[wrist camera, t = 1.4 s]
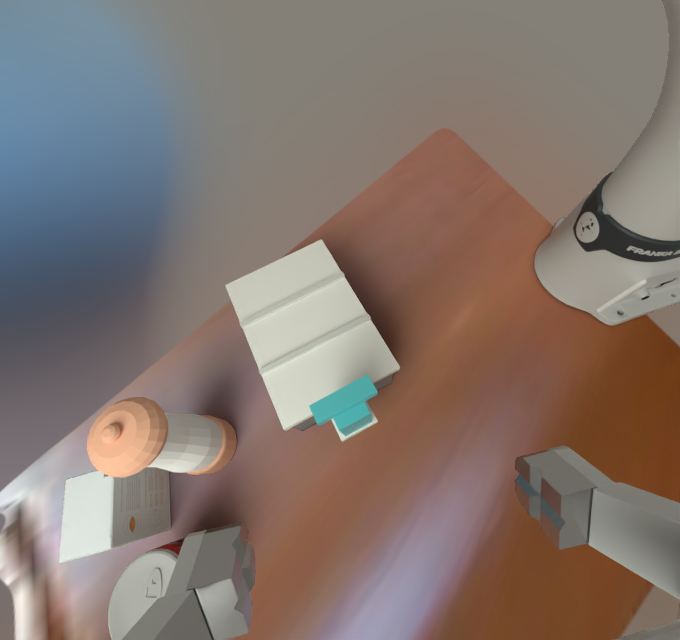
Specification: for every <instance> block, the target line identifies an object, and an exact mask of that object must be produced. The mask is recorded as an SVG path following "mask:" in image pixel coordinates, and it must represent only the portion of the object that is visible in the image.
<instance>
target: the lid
mask: <svg viewBox="0 0 680 640" xmlns="http://www.w3.org/2000/svg"><path fill="white" fill-rule="evenodd" d="M225 286H226V289H227V291H228V294H229V296H230V299H231V301H232V304H233V306H234V308H235V311H236V313H237V316H238V318H239V321H240V326H241V327H242V328H243V331H244V333H245V336H246V338H247V341H248V343H249V345H250V348H251V350H252V353H253V355H254V358H255V360H256V363H257V365H258V368H259V373H260V375H262V378H263V380H264V382H265V385H266V387H267V390H268V392H269V395H270V397H271V400H272V402H273V405H274V407H275V410H276V412H277V415H278V417H279V419H280V422H281V424H282V427H283V429H284V430H288V429H290V428H292V427H293V426H295V425H297V424H299V423H301V422H303V421H305V420H307V419H308V418H310V417H312V416H314V418H315V421H316V423H317V425H319V426H320V425H322V424H324V423H326V422H327V421H329V420H332V422H333V424H334V426H335V428H336V430H337V432H338V434H339V436H340V438H341V441H342V442H343V441H345V440H346V439H348V438H350V437H352V436H354V435H356V434H357V433H359V432H361V431H363V430H365V429H366V428H368V427H370V426H372V425H374V424H376V423H377V422H378V421H377V419H376V417H375V415H374V413H373V412H372V410H371V408H370V406H369V404H368V402H367V400H368V399H370V398H372V397H374V396H376V395H377V394H378V392H377V390H376V388H375V386H374V383H376V382H377V381H379V380H381V379H383V378H385V377H387V376H389V375H390V374H392V373H394V372H396V371H398V370H400V366H399V365H398V363H397V361H396V360H395V358H394V357H393V355H392V353H391V352H390V350H389V348H388V347H387V345H386V343H385V342H384V340H383V339H382V337H381V335H380V334H379V332H378V330H377V329H376V327H375V326H374V324H373V322H372V321H371V317H370V316H369V314H367V312H366V311H365V309H364V308H363V306H362V304H361V303H360V301H359V299H358V298H357V296H356V295H355V293H354V291H353V290H352V288H351V286H350V285H349V283H348V281H347V280H346V278H345V275H344V273H343V272H341V270H340V268H339V267H338V265H337V264H336V262H335V260H334V259H333V257H332V255H331V254H330V252H329V250H328V249H327V247H326V246H325V244H324V242H323V241H322V239H321V240H319V241H317V242H315V243H312V244H310V245H308V246H306V247H304V248H302V249H300V250H298V251H296V252H294V253H292V254H290V255H287V256H285V257H283V258H281V259H279V260H277V261H275V262H273V263H271V264H269V265H267V266H264V267H263V268H260V269H258V270H256V271H254V272H252V273H250V274H248V275H246V276H244V277H242V278H240V279H237V280H235V281H233V282H231V283H229V284H227V285H225Z"/></svg>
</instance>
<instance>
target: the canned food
mask: <svg viewBox="0 0 680 640" xmlns="http://www.w3.org/2000/svg"><path fill="white" fill-rule="evenodd" d="M185 538H186V537H185ZM185 538H183V539H180V540H177V541H175V542H172V543H169V544H166V545H164V546H161V547H158V548H155V549H153V550H151V551H148V552H146V553H144V554H142V555H141V556H139V557H138V558H136V559H135V560H134V561H133V562H131V563H130V564H129V565H128V566H127V568H126V569H125V570H124V571H123V573H122V574H121V576H120V577H119V579H118V581H117V583H116V585H115V587H114V590H113V592H112V596H111V599H110V604H109V610H108V626H109V633H110V636H111V639H112V640H122V639H123V637H124V636H125V635H126V634H127V633H128V632H129V631H130V629H131V628H132V627H133V626H134V625H135V624H136V623H137V621H138V620H139V619H140V618H141V617H142V616H143V615H144V614H145V612H146V611H147V610H148V609H149V608H150V607H151V606H152V604H153V603H154V602H155V601H156V600H157V599H158V598H161V597H164V595H165V592H166V590H167V587H168V584H169V581H170V578H171V576H172V573H173V570H174V567H175V564H176V562H177V559H178V556H179V553H180V550H181V548H182V545H183V542H184V539H185Z"/></svg>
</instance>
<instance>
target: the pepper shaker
mask: <svg viewBox="0 0 680 640" xmlns="http://www.w3.org/2000/svg"><path fill="white" fill-rule="evenodd" d="M236 444H237V439H236V433H235V431H234V429H233V427H232V425H230V424H229V423H228V422H227V421H225V420H223V419H220V418H217V417H214V416H210V415H197V414H172V413H168V412H164V411H163V410H162V408H161V407H160V406H159V405H158V404H157V403H156V402H155V401H153V400H150V399H147V398H128V399H124V400H121V401H118V402H117V403H115V404H114V405H112V406H111V407H109V408H108V409H106V410H105V411H104V412H103V413H102V414H101V415H100V416H99V417H98V418H97V419H96V421H95V423H94V424H93V426H92V428H91V430H90V433H89V436H88V439H87V451H88V454H89V458H90V460H91V463H92V464H93V465H94V466H95V468H96V469H97V470H98V471H100V472H102V473H104V474H106V475H108V476H111V477H127V476H130V475H133V474H136V473H138V472H140V471H141V470H143V469H144V468H146V467H157V468H160V469H164V470H167V471H171V472H181V473H183V472H185V473H188V474H194V475H201V474H212V473H215V472H218V471H220V470H221V469H223V468H224V467H225V466H226V465H227V464H228V463H229V462H230V460H231V459H232V457H233V455H234V453H235V450H236Z"/></svg>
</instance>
